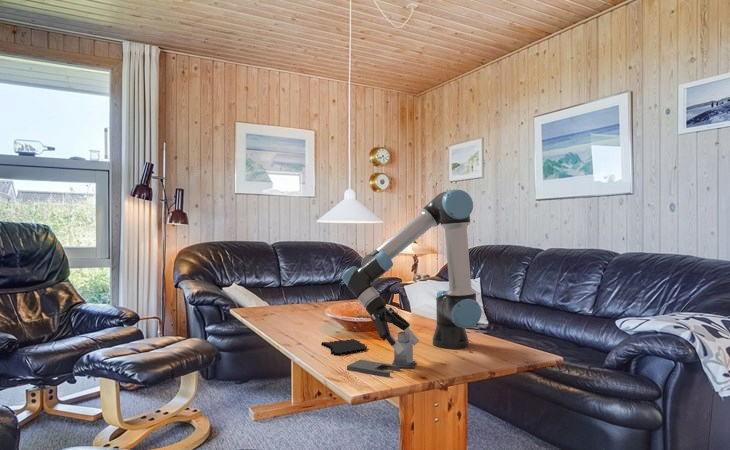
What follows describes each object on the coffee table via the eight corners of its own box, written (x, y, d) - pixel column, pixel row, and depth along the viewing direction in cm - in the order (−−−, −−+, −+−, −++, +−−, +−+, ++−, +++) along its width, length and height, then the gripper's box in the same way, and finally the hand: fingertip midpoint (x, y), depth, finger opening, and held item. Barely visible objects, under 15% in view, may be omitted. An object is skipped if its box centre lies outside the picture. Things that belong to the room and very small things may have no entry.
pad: (415, 362, 166) (415, 360, 166) (413, 369, 158) (413, 367, 158) (393, 361, 167) (393, 359, 167) (391, 367, 159) (391, 366, 159)
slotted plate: (347, 369, 157) (347, 365, 157) (360, 363, 165) (360, 359, 165) (388, 377, 149) (388, 372, 149) (399, 369, 157) (399, 365, 157)
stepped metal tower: (394, 364, 162) (394, 333, 162) (400, 360, 166) (400, 330, 166) (407, 366, 159) (406, 334, 159) (412, 362, 163) (412, 332, 164)
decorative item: (327, 337, 200) (371, 339, 196) (327, 341, 200) (371, 343, 196) (311, 351, 178) (360, 354, 174) (311, 355, 178) (360, 358, 174)
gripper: (381, 304, 181) (416, 346, 173) (349, 313, 160) (386, 362, 152) (393, 291, 179) (429, 333, 171) (361, 299, 157) (401, 348, 149)
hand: (409, 347), depth 161 cm, fingers open, 13 cm apart
